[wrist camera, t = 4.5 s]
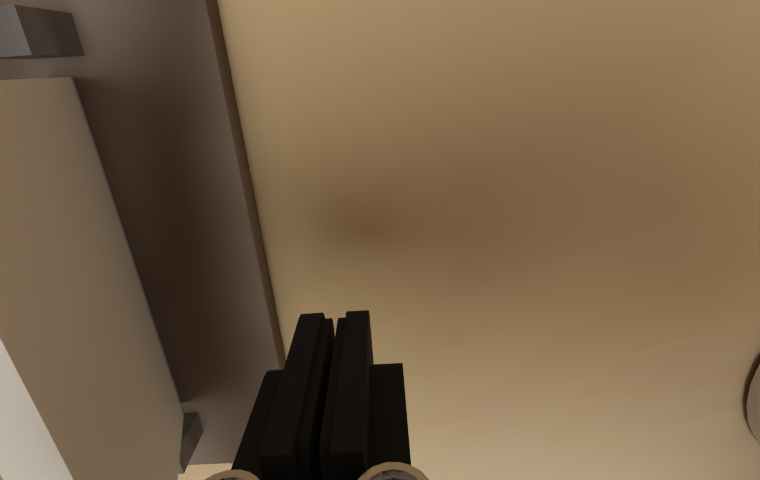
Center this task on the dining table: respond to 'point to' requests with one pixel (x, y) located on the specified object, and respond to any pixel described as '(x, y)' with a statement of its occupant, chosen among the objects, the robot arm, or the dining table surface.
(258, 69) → the dining table surface
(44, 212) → the tile
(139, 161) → the board
